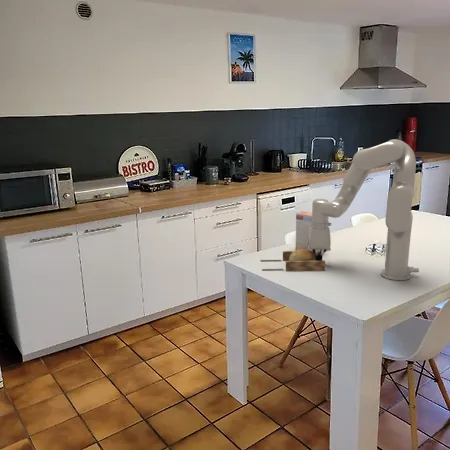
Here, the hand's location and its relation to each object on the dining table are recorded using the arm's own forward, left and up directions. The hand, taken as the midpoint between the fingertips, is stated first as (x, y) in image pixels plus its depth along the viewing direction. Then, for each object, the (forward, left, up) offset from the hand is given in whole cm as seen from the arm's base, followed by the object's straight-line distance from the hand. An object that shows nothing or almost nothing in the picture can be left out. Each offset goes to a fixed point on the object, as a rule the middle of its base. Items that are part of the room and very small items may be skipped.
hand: (318, 262), depth 216 cm
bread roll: (+8, 0, -2) cm, 8 cm away
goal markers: (+23, 0, -1) cm, 23 cm away
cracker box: (+2, -19, -2) cm, 19 cm away
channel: (+8, 0, -1) cm, 8 cm away
